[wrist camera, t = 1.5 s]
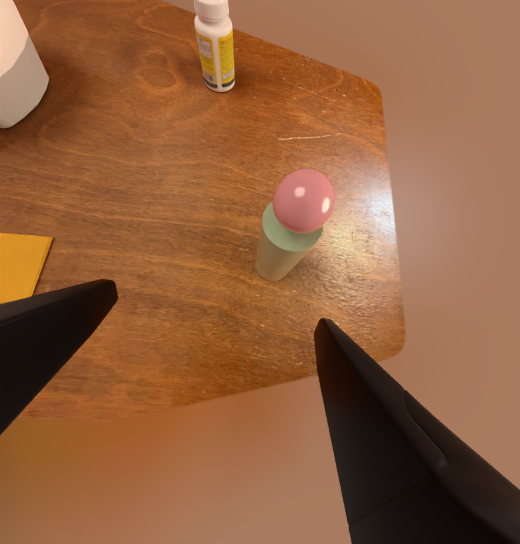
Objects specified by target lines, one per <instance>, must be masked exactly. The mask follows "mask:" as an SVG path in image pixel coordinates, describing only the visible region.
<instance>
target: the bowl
mask: <svg viewBox="0 0 520 544" xmlns="http://www.w3.org/2000/svg"><path fill="white" fill-rule="evenodd" d="M48 82H49V77H48V75H47V73H46V71H45V68H44V66H43V64H42V62H41V60H40V58H39V56H38V54H37V51H36V49H35V47H34V45H33V43H32V41H31V39H30V37H29V34H28V31H27V29H26V27H25V25H24V23H23V21H22V19H21V17H20V14H19V12H18V10H17V8H16V6H15V4H14V2H13V0H0V128H9V127H12V126H13V125H15V124H16V123H17V122H19V121H20V120H22V119H23V118H25V117H26V116H27V115H28V114H29V113H30V112H31V111H32V110H33V109H34V108H35V107H36V106H37V105H38V104H39V102H40V100H41V98H42V96H43V95H44V93H45V91H46V88H47V85H48Z"/></svg>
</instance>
